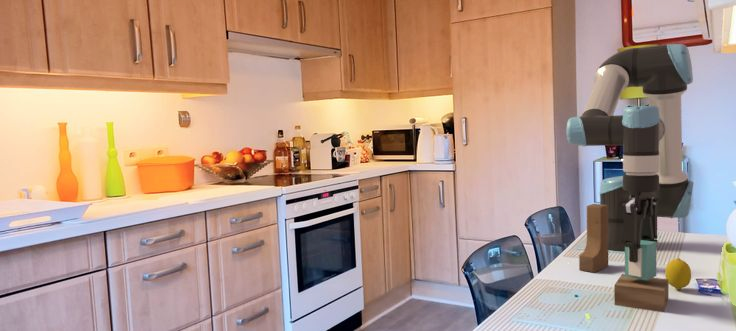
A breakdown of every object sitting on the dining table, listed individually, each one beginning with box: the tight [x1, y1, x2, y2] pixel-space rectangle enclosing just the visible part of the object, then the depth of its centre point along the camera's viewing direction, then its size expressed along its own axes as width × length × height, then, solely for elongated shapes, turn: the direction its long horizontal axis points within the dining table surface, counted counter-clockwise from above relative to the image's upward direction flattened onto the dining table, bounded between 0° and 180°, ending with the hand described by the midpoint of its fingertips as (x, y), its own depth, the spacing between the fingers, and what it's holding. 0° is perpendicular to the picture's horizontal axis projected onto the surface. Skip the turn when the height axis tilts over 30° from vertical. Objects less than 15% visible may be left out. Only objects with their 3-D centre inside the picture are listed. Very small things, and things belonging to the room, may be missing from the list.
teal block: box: [624, 240, 657, 280], centre depth 126 cm, size 5×5×8 cm
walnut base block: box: [613, 273, 670, 313], centre depth 126 cm, size 10×10×5 cm
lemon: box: [664, 257, 692, 291], centre depth 133 cm, size 6×6×8 cm
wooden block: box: [578, 203, 609, 273], centre depth 154 cm, size 9×4×18 cm, turn 131°
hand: (640, 272), depth 126 cm, fingers open, 5 cm apart
